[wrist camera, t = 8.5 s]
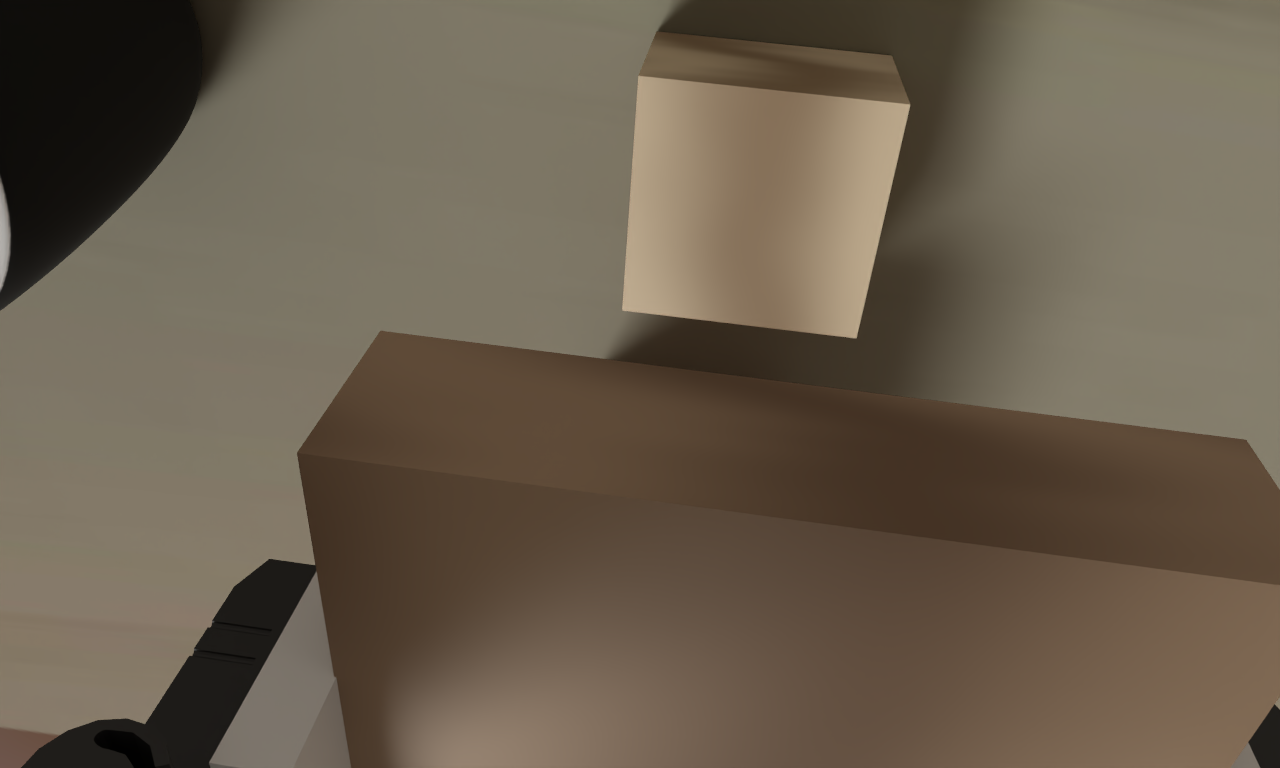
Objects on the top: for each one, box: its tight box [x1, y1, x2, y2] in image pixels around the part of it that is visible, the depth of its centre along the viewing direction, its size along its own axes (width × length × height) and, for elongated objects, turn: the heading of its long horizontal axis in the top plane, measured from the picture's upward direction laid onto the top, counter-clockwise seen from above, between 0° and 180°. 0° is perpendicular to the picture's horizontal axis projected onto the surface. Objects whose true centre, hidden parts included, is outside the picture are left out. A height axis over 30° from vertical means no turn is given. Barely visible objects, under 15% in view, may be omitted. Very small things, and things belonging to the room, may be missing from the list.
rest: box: [622, 31, 910, 338], centre depth 24 cm, size 6×6×4 cm
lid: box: [297, 331, 1280, 768], centre depth 11 cm, size 8×8×2 cm
